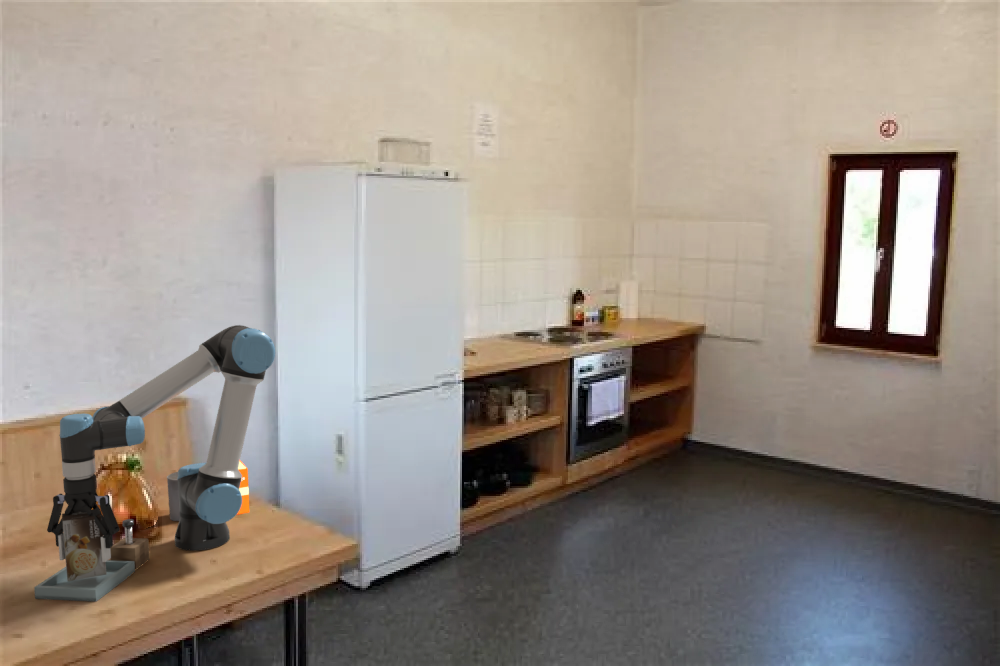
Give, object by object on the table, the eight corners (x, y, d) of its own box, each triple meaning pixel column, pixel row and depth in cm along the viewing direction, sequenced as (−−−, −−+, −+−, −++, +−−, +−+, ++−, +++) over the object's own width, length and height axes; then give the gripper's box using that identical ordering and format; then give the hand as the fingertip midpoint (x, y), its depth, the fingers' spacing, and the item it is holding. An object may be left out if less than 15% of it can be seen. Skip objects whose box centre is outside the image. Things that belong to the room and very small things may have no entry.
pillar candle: (198, 509, 276) (195, 464, 274) (205, 517, 268) (202, 471, 266) (166, 515, 271) (163, 469, 269) (173, 524, 263) (170, 477, 261)
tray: (134, 572, 227) (134, 561, 226) (96, 601, 209) (95, 589, 208) (78, 569, 228) (77, 558, 228) (35, 598, 210) (34, 587, 210)
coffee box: (105, 566, 223) (101, 507, 221) (106, 575, 217) (102, 514, 215) (66, 573, 219) (61, 512, 217) (66, 582, 213) (62, 520, 211)
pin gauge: (138, 562, 233) (135, 519, 232) (132, 566, 230) (130, 522, 229) (128, 561, 233) (126, 518, 232) (123, 565, 231) (120, 522, 229)
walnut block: (149, 559, 235) (148, 538, 234) (136, 569, 228) (134, 548, 227) (125, 558, 236) (124, 537, 235) (111, 568, 229) (110, 547, 228)
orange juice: (242, 504, 281) (240, 445, 279) (250, 512, 274) (247, 451, 271) (218, 508, 277) (215, 449, 274) (225, 516, 270) (222, 455, 267)
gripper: (131, 472, 217) (136, 555, 220) (45, 470, 220) (52, 551, 223) (115, 481, 210) (120, 566, 213) (26, 478, 212) (33, 563, 215)
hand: (85, 559), depth 218 cm, fingers closed on coffee box, 11 cm apart
